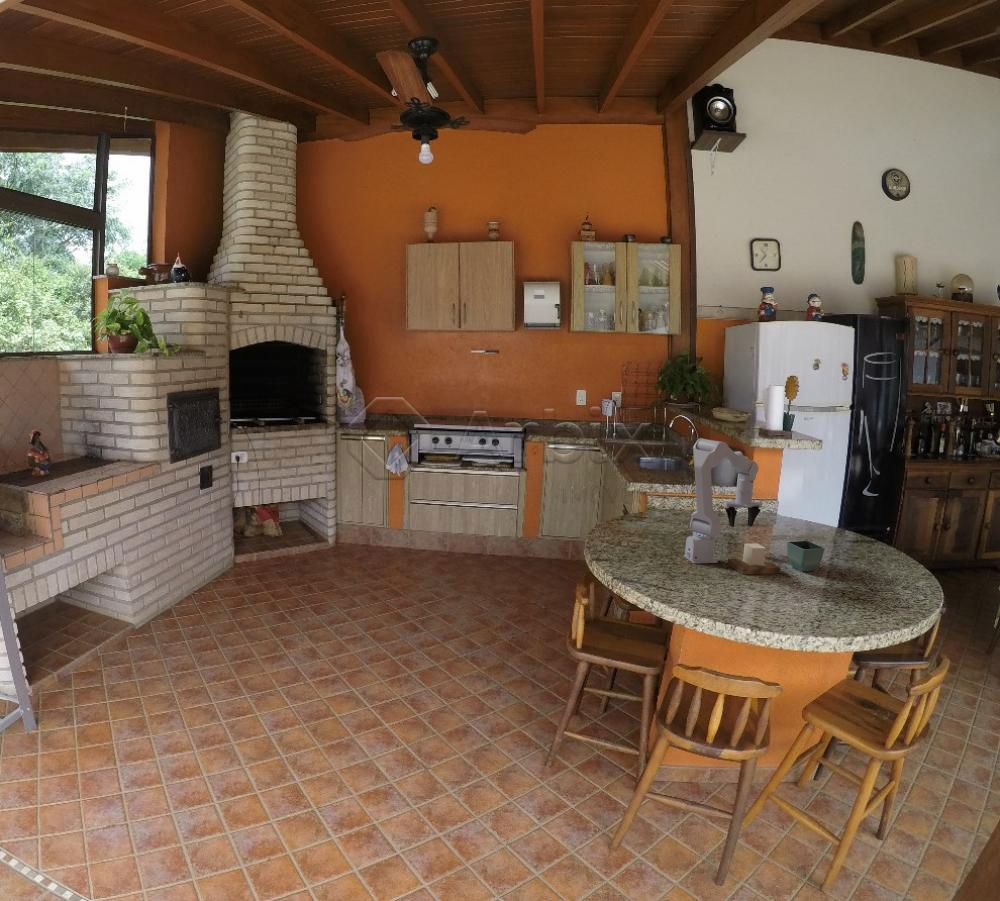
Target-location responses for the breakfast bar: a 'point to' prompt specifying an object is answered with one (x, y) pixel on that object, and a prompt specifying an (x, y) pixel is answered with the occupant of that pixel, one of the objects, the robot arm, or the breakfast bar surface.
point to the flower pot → (804, 555)
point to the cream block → (754, 554)
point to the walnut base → (753, 567)
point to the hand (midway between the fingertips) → (740, 526)
